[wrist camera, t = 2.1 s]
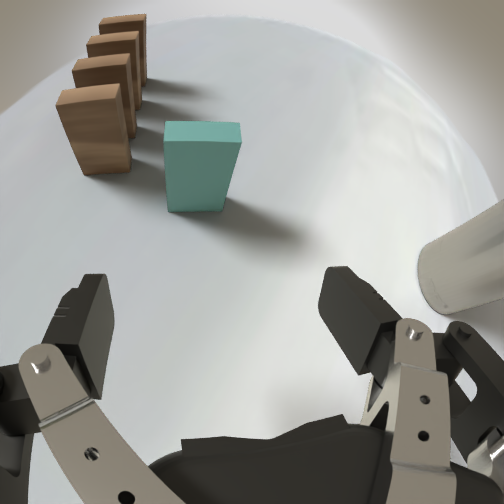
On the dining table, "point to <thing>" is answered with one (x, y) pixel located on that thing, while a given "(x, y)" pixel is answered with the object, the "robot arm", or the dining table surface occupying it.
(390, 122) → the dining table surface
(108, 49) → the tile
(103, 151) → the tile
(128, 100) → the tile
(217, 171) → the teal tile
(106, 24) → the brown wooden block
